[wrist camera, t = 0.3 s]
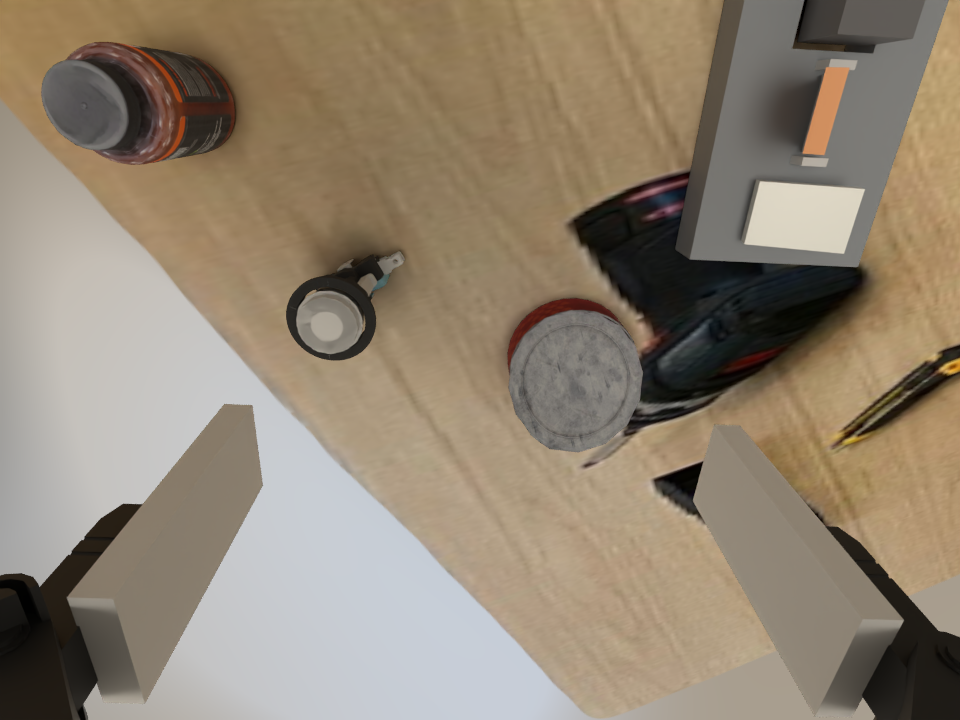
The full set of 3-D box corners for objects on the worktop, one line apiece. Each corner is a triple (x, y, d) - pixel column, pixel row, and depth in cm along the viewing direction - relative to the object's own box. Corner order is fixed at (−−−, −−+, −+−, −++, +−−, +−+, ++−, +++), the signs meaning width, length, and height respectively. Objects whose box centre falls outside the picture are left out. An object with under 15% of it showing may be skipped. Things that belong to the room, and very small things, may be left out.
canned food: (500, 338, 49) (458, 344, 40) (600, 276, 46) (580, 267, 36) (565, 451, 48) (537, 484, 38) (672, 396, 44) (670, 417, 35)
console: (768, -220, 30) (813, -270, 26) (978, -204, 31) (1054, -250, 27) (675, 249, 41) (697, 264, 37) (832, 256, 42) (870, 272, 38)
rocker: (756, 179, 36) (759, 181, 35) (857, 186, 35) (865, 189, 34) (741, 240, 38) (744, 244, 37) (837, 249, 36) (843, 253, 35)
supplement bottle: (160, 34, 35) (30, 4, 25) (251, 85, 36) (164, 76, 26) (135, 124, 37) (6, 131, 27) (222, 170, 38) (131, 192, 28)
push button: (385, 222, 40) (360, 256, 31) (421, 285, 42) (408, 334, 33) (308, 263, 41) (262, 308, 32) (347, 323, 43) (314, 380, 34)
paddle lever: (822, 75, 34) (825, 62, 27) (845, 75, 33) (853, 62, 27) (801, 151, 36) (799, 157, 29) (822, 153, 35) (825, 159, 28)
